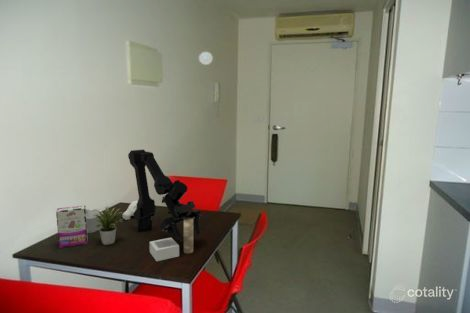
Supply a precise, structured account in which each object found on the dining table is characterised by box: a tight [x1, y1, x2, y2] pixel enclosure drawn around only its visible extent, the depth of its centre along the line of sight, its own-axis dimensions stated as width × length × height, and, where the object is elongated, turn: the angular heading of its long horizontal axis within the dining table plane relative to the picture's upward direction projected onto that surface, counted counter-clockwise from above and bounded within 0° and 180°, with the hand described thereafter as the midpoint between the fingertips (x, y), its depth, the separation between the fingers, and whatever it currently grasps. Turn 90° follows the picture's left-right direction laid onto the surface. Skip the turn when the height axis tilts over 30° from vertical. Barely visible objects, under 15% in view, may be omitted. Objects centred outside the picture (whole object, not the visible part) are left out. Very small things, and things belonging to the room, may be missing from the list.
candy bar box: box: [55, 205, 88, 249], centre depth 137 cm, size 11×5×16 cm, turn 114°
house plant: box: [92, 206, 124, 246], centre depth 139 cm, size 14×14×16 cm
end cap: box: [149, 237, 180, 262], centre depth 130 cm, size 9×9×4 cm
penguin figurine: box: [122, 200, 138, 221], centre depth 173 cm, size 6×8×12 cm
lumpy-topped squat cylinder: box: [86, 208, 105, 234], centre depth 157 cm, size 10×13×9 cm
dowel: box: [183, 218, 194, 254], centre depth 133 cm, size 4×4×14 cm
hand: (190, 237), depth 132 cm, fingers open, 9 cm apart
